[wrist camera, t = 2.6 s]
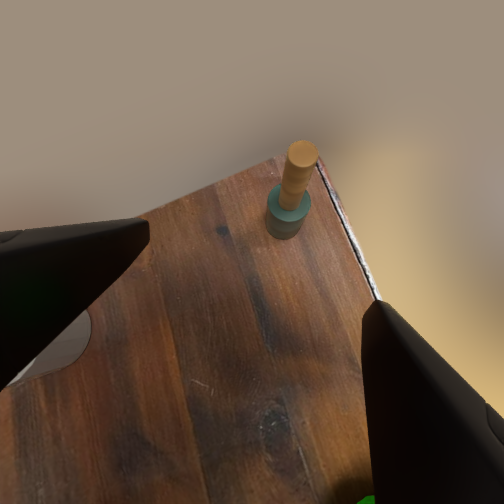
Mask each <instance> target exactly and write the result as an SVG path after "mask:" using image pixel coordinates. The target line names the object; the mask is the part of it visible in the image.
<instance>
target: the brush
mask: <svg viewBox="0 0 504 504" xmlns="http://www.w3.org/2000/svg"><path fill="white" fill-rule="evenodd" d="M317 160H318V150H317V148H316V146H315V145H313V144H312V143H311V142H309V141H304V140H301V141H296V142H294V143H293V144H292V145H291V146H290V147H289V148H288V151H287V156H286V161H285V167H284V172H283V178H282V183H281V184H279V185H277V186H275V187H274V188H273V189H272V190H271V192H270V193H269V196H268V201H267V214H266V228H267V230H268V232H269V233H270V234H271V235H272V236H273V237H275V238H277V239H283V240H284V239H289V238H292V237H293V236H295V235H296V234H297V232H298V231H299V229H300V227H301V225H302V223H303V221H304V219H305V217H306V215H307V214H308V212H309V210H310V206H311V199H310V196H309V193H308V192H307V190H306V187H307V185H308V182H309V180H310V177H311V175H312V172H313V170H314V167H315V165H316V162H317Z"/></svg>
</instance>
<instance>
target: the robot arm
mask: <svg viewBox="0 0 504 504" xmlns="http://www.w3.org/2000/svg"><path fill="white" fill-rule="evenodd" d="M149 240H150V231H149V222H148V221H146V220H144V219H141V218H130V219H120V220H111V221H102V222H92V223H82V224H73V225H63V226H55V227H44V228H35V229H26V230H24V231H23V230H16V231H5V232H0V392H1V391H2V390H3V389H4V388H5V387H6V386H7V385H8V384H9V383H10V382H11V381H12V380H13V379H14V378H15V377H16V376H17V375H18V373H20V372H21V371H22V370H23V369H24V368H25V367H26V366H27V365H28V364H30V363H31V362H32V361H33V360H34V359H35V358H36V357H37V356H38V355H39V354H40V353H41V352H42V351H43V350H44V349H45V348H46V347H47V346H48V345H49V344H50V343H51V342H52V341H53V340H54V339H55V338H57V337H58V336H59V335H60V334H61V333H62V332H63V331H64V330H65V329H66V328H67V327H68V326H69V325H70V324H71V323H72V322H73V321H74V320H75V319H76V318H77V317H78V316H79V315H80V314H81V313H82V312H84V311H85V310H86V309H87V308H88V307H89V306H90V305H91V304H92V303H93V302H94V301H95V300H96V299H97V298H98V297H99V296H100V295H101V294H102V293H103V292H104V291H105V290H106V289H107V288H108V287H109V286H111V285H112V284H113V283H114V282H115V281H116V280H117V279H118V278H119V277H120V276H121V275H122V274H123V273H124V272H125V271H126V270H127V269H128V267H129V266H130V265H131V264H132V263H133V262H134V260H135V259H136V258H137V257H138V256H139V254H140V253H141V252H142V251H143V250H144V248H145V247H146V246H147V245H148V243H149ZM361 363H362V374H363V385H364V395H365V406H366V416H367V427H368V437H369V447H370V458H371V468H372V479H373V489H374V500H375V504H504V419H503V418H502V417H501V416H500V415H499V414H498V413H497V412H496V411H495V410H494V409H493V408H492V407H491V406H490V405H489V404H488V403H486V402H485V400H484V399H483V398H482V397H481V396H480V395H479V394H478V393H477V392H476V391H475V390H474V389H473V388H472V387H471V386H470V385H469V384H468V383H467V382H466V381H465V380H464V379H463V378H462V377H461V376H460V375H459V374H458V373H457V372H456V371H455V370H454V369H453V368H452V367H451V366H450V365H449V364H448V363H447V362H446V361H445V360H444V359H443V358H442V357H441V356H440V355H439V354H438V353H437V352H436V351H435V350H434V349H433V348H432V347H431V346H430V345H429V344H428V343H427V342H426V341H425V340H424V338H423V337H422V336H420V334H418V332H416V331H415V330H414V328H413V327H412V326H411V325H410V324H408V322H406V320H404V319H403V317H402V316H400V315H399V313H397V311H395V309H394V308H392V306H391V305H390V304H388V303H386V302H383V301H380V300H375V301H374V302H373V303H372V304H371V305H370V307H369V308H368V309H367V311H366V312H365V314H364V315H363V318H362V340H361Z"/></svg>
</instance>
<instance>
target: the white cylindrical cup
mask: <svg viewBox="0 0 504 504" xmlns="http://www.w3.org/2000/svg"><path fill="white" fill-rule="evenodd" d="M90 335H91V320H90V317H89V314H88V312H87V310H85V311H84V312H82V313H81V314H80V315H79V316H78V317H77V318H76V319H75V320H74V321H73V322H72V323H71V324H70V325H69V326H68V327H67V328H66V329H65V330H64V331H63V332H62V333H61V334H60V335H59V336H58V337H57V338H55V339H54V340H53V341H52V342H51V343H50V344H49V345H48V346H47V347H46V348H45V349H44V350H43V351H42V352H41V353H40V354H39V355H38V356H37V357H36V358H35V359H34V360H33V361H32V362H31V363H30V364H28V365H27V366H26V367H25V368H24V369H23V370H22V371H21V372H20V373H18V375H17V376H16V377H15V378H14V379H13V380H12V381H11V382H10V383H9V384H8V385H7V386H6V387H9V386H13V385H16V384H19V383H22V382H25V381H28V380H31V379H35V378H38V377H41V376H44V375H47V374H50V373H53V372H56V371H58V370H61V369H63V368H65V367H67V366H69V365H71V364H72V363H73V362H75V361H76V360H77V359H78V358H79V357H80V355H81V354H82V353H83V351H84V350H85V348H86V346H87V344H88V342H89V339H90ZM6 387H5V388H6Z"/></svg>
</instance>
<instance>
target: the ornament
mask: <svg viewBox="0 0 504 504" xmlns="http://www.w3.org/2000/svg"><path fill="white" fill-rule="evenodd" d="M357 504H375V500H374V495H373V496H366V497H365V498H364V499H362V500H361V501H360V502H358V503H357Z"/></svg>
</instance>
